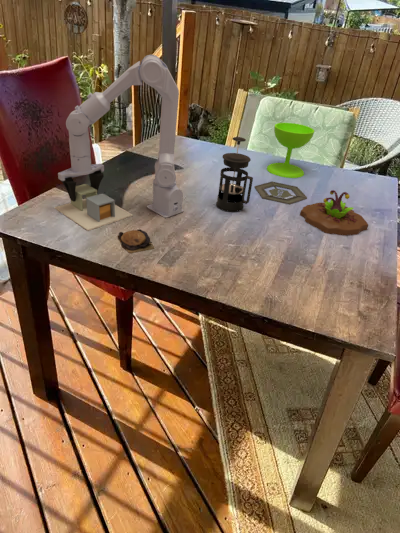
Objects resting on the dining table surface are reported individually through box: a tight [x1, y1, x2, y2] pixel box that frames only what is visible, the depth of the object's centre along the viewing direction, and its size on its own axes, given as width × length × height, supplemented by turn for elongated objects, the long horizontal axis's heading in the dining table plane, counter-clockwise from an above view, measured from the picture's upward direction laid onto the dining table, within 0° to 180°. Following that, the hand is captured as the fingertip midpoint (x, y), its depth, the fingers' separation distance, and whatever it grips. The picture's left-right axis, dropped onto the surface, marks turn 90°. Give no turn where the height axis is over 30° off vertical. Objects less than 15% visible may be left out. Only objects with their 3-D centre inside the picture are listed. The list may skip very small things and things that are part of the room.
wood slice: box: [117, 228, 155, 254], centre depth 110 cm, size 11×8×4 cm
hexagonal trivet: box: [254, 181, 308, 205], centre depth 149 cm, size 17×20×1 cm
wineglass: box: [266, 122, 315, 179], centre depth 165 cm, size 16×16×18 cm
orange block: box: [99, 203, 111, 220], centre depth 120 cm, size 4×4×4 cm
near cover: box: [85, 193, 116, 222], centre depth 119 cm, size 6×6×6 cm
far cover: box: [70, 183, 98, 211], centre depth 124 cm, size 6×6×6 cm
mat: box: [54, 198, 133, 232], centre depth 123 cm, size 18×16×1 cm
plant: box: [299, 189, 369, 236], centre depth 130 cm, size 20×20×11 cm
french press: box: [215, 136, 254, 213], centre depth 129 cm, size 12×9×23 cm
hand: (83, 197), depth 124 cm, fingers open, 7 cm apart
